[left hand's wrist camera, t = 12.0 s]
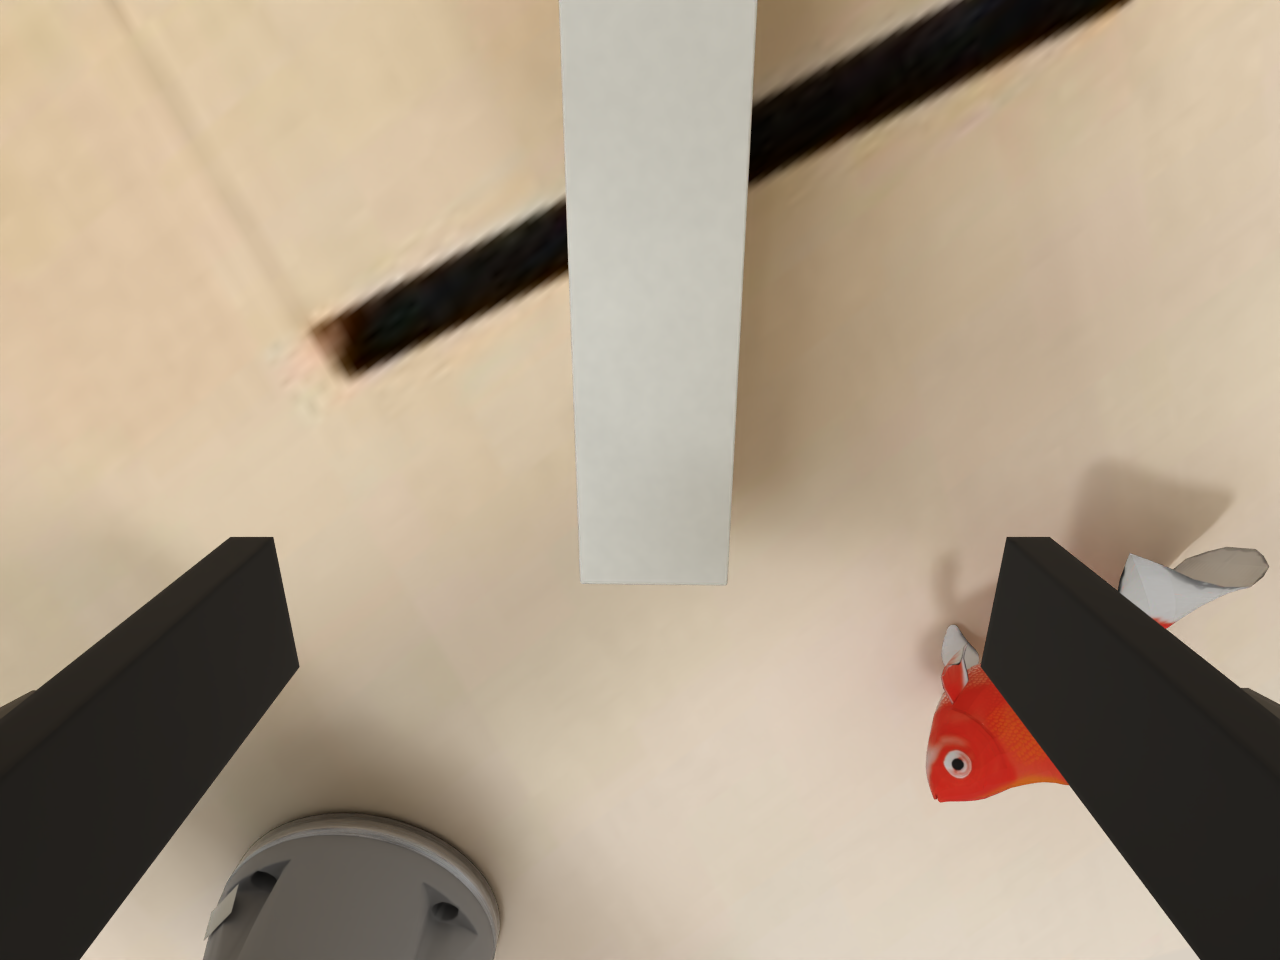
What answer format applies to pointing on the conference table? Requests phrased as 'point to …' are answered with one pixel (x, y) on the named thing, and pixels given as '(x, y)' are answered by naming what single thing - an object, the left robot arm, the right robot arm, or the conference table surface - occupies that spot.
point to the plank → (656, 277)
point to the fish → (989, 728)
